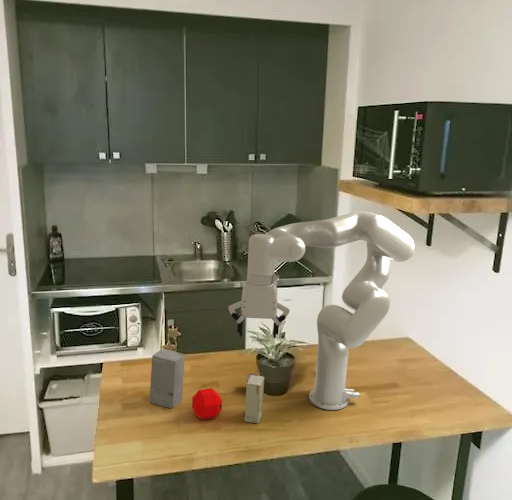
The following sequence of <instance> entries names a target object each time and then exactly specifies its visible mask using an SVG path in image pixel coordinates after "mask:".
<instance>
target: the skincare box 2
mask: <svg viewBox="0 0 512 500" xmlns="http://www.w3.org/2000/svg"><path fill="white" fill-rule="evenodd" d="M264 388H265V376H263V375H262V376H255V375H251V376H250V378H249V380H248V382H247V381H246V387H245V391H246V392H245V406H244V407H245V410H244V412H245V413H244V422H247V423H255V424H259V423H260V421H261V418H262V416H263V415H262V414H263V407H264V406H263V405H264Z"/></svg>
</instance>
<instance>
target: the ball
mask: <svg viewBox="0 0 512 500" xmlns="http://www.w3.org/2000/svg"><path fill="white" fill-rule="evenodd" d="M191 398H192V401H191V409H192V410H193V412H194V414H195V415H196V416H197V417H198V418H199V419H201V420H202V421H203V420H209V419H215V418H216V417H217V416H218V415H219V414H220V413H221V412H222V411H223V408H222V407H223V399H222V397H221V395H220V394H219V393H218V391H216V390H215V389H213V387H211V388H210V387H209V388H203V389H199V390H198V391H197V392H196V393H195V394H194V395H193V396H192V397H191Z"/></svg>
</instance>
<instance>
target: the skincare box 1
mask: <svg viewBox="0 0 512 500" xmlns="http://www.w3.org/2000/svg"><path fill="white" fill-rule="evenodd" d="M185 355H186V354H184V353H181V352H177V351H175V350H169V349H165V348H161V349H160V350H158V351H157V352H156V353H154V354H153V355H152V357H151V369H150V373H151V374H150V388H149V404H154V405H156V406H157V405H158V406H162V407H164V408H169V409H174V408H175V407H176V406H177V405H178V404H179V403H180V402H181V401H182V399H183V389H184V388H183V387H184V386H183V384H184V371H185V370H184V369H185V359H186V358H185Z"/></svg>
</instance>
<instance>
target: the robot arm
mask: <svg viewBox="0 0 512 500" xmlns="http://www.w3.org/2000/svg"><path fill="white" fill-rule="evenodd" d="M358 241H365V242H366V251H367V253H366V254H367V256H366V260H365V263H364V265H363V266H362V267H361V269H360V270H359V271H358V273H357V274H356V275H355V276H354V277H353V278H352V280H350V282H349V283H348V284H347V286H346V287H345V288H344V289H343V292H342V295H341V300H342V302H343V303H344V304H345V306H347V308H350V309H351V310H353V311H354V312H353V313H352V312H351V311H349V310H347V309H346V308H344V307H342V306H340V305H337V304H328V305H325V306H324V307H322V308H321V310H320V311H319V312H318V315H317V318H316V328H317V330H316V331H317V340H318V342H317V343H318V344H317V354H316V366H315V379H314V389H313V390H310V392H309V394H308V399H309V402H310V403H311V404H312V405H314V406H316V407H317V408H319V409H323V410H328V411H336V410H337V411H338V410H341V409H344V408H346V407H347V406H348V405H349V399H350V398H351V399H359V398H360V392H359V391H355V389H354V388H347V387H346V380H347V379H346V378H347V369H348V359H349V349H354V348H355V349H356V348H359V346H361V345H363V344H364V343H365V342H366V341H367V339H368V338H369V337H370V336H371V334H372V333H374V331H375V330H376V329H377V328H378V326H379V325H380V324H381V323H382V321H383V320H384V318H385V317H386V316H387V314H388V313H389V309H390V306H391V300H390V297H389V294H388V293H387V292H386V291H385V290H384V289H382V288H383V287H384V285H385V284H386V283H387V281H388V279H389V277H390V274H391V260H392V261H395V262H397V263H398V262H399V263H402V262H406V261H408V260H410V258H412V256H413V255H414V252H415V242H414V241H415V240H414V239H413V238H412V236H410V235H409V234H408V233H407V232H406V231H404V230H403V229H401V228H400V226H397V225H396V224H395V223H394V222H392V221H391V220H390V219H388V218H386V217H385V216H383V215H380V214H377V213H374V212H370V211H365V210H356V211H353V212H349V213H346V214H342V215H338V216H335V217H331V218H327V219H322V220H311V221H300V222H293V223H290V224H289V223H288V224H285V225H282V226H278V227H275V228H272V229H271V230H269V231H268V232H267V233H255V234H253V235H252V234H251V236H250V237H249V239H248V251H247V252H248V253H247V254H248V255H247V274H246V275H247V276H246V277H247V278H246V280H244V281H243V287H242V293H241V300H240V301H237V302H235V303H233V304H230V305H228V312H229V313H230V315H231V318H233V319H234V320H235V321H236V323H237V328H236V330H237V331H236V332H237V333H239V338H241V337H242V336H243V325H244V324H243V323H244V322H243V321H244V320H245V319H246V318H247V319H266V320H267V319H268V320H270V319H271V320H272V321H273V324H272V325H273V327H272V328H273V329H272V338H273V339H276V338H277V335H279V327H280V324H281V323H282V322H284V321H285V320H286V318H287V317H288V315H289V314H290V309H289V308H288V307H287V306H285V305H283V304H282V303H279V302H278V288H277V282H276V281H280V275H277V274H276V273H275V270H276V269H275V268H276V266H275V265H276V262H285V263H286V262H287V263H288V262H289V263H293V262H296V261H299V260H301V259H302V258H303V257H304V255H305V253H306V247H313V248H319V249H320V248H321V249H333V248H337V247H340V246H343V245H346V244H349V243H353V242H358ZM239 308H240V312H241V313H240V314H238V313H237V312H236V311H235V310H237V309H239ZM278 310H279V311H281V312H282V314H281V315H279V316H278V315H277V313H278Z"/></svg>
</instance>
